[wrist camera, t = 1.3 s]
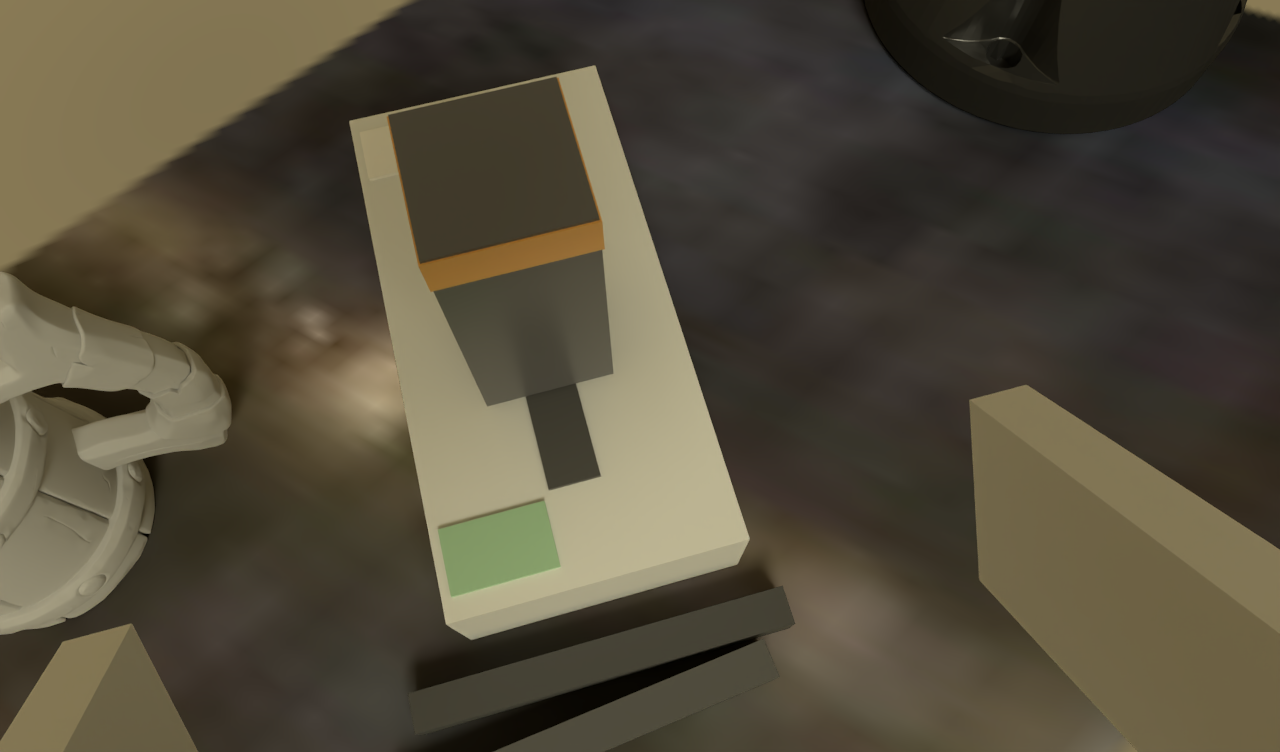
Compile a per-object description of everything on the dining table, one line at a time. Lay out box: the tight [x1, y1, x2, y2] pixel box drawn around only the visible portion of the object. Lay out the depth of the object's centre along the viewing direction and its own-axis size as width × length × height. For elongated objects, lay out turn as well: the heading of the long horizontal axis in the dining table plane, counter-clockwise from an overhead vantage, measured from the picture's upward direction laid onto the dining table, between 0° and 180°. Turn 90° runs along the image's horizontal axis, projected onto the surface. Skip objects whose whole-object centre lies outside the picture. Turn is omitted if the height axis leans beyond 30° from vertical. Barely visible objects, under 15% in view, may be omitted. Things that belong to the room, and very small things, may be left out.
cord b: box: [493, 639, 780, 752], centre depth 28 cm, size 12×1×1 cm, turn 112°
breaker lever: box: [387, 77, 614, 406], centre depth 25 cm, size 4×4×9 cm
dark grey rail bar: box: [408, 586, 795, 735], centre depth 29 cm, size 12×1×1 cm, turn 106°
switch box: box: [349, 66, 750, 640], centre depth 31 cm, size 9×18×4 cm, turn 16°
